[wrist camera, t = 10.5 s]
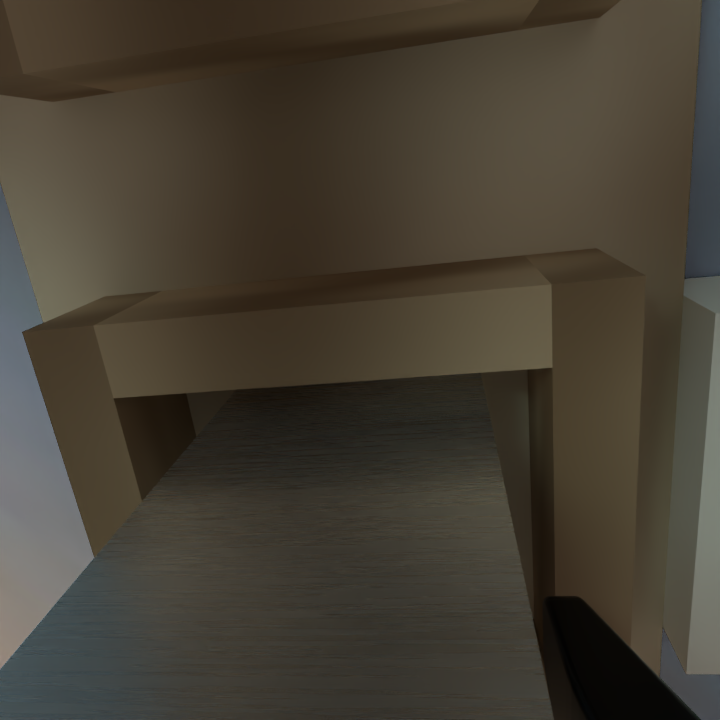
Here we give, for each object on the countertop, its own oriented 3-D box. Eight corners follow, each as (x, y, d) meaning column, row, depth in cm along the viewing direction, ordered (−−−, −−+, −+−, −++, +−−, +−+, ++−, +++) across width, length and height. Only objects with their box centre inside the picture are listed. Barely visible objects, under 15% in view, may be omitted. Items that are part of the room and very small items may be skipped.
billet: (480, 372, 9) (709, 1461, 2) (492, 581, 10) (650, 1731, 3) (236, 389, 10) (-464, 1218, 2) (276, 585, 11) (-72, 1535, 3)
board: (713, -900, 6) (1005, -1984, 3) (640, 647, 12) (707, 804, 9) (-173, -572, 7) (-577, -1060, 4) (174, 647, 13) (104, 782, 10)
